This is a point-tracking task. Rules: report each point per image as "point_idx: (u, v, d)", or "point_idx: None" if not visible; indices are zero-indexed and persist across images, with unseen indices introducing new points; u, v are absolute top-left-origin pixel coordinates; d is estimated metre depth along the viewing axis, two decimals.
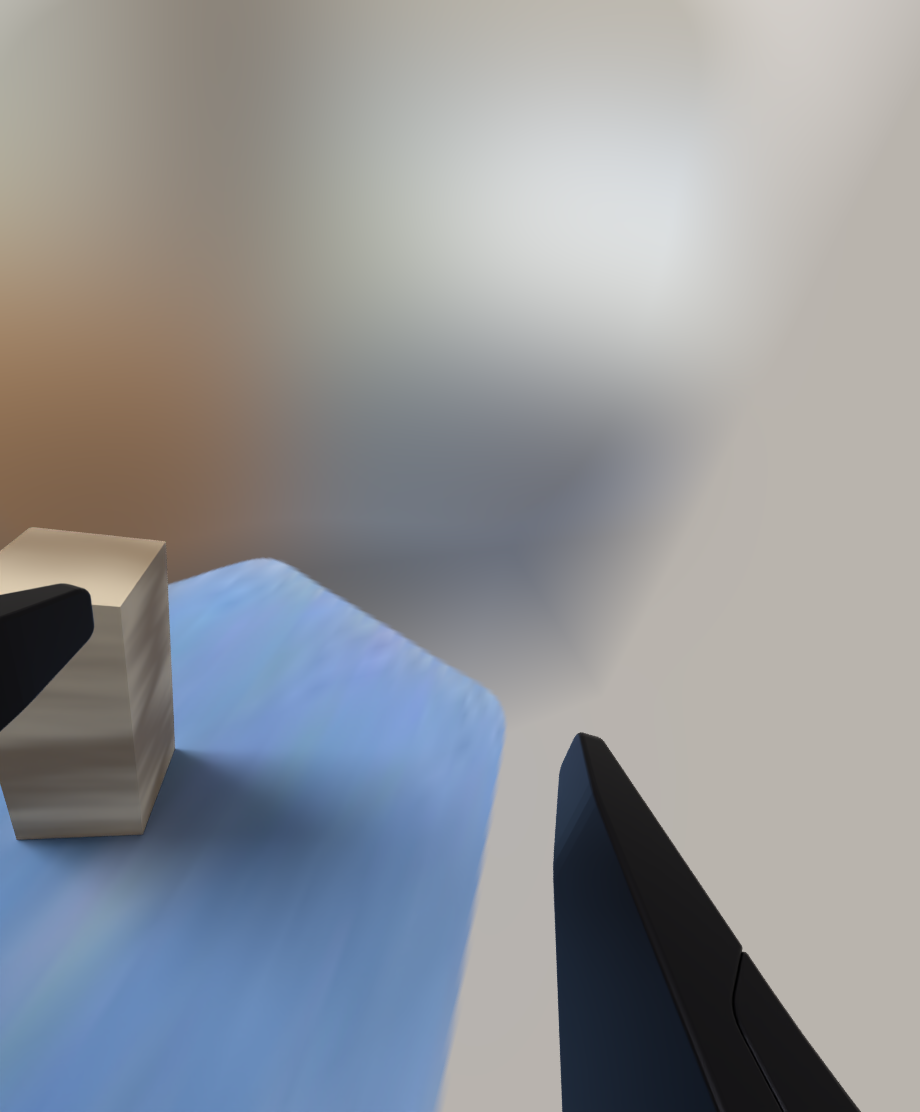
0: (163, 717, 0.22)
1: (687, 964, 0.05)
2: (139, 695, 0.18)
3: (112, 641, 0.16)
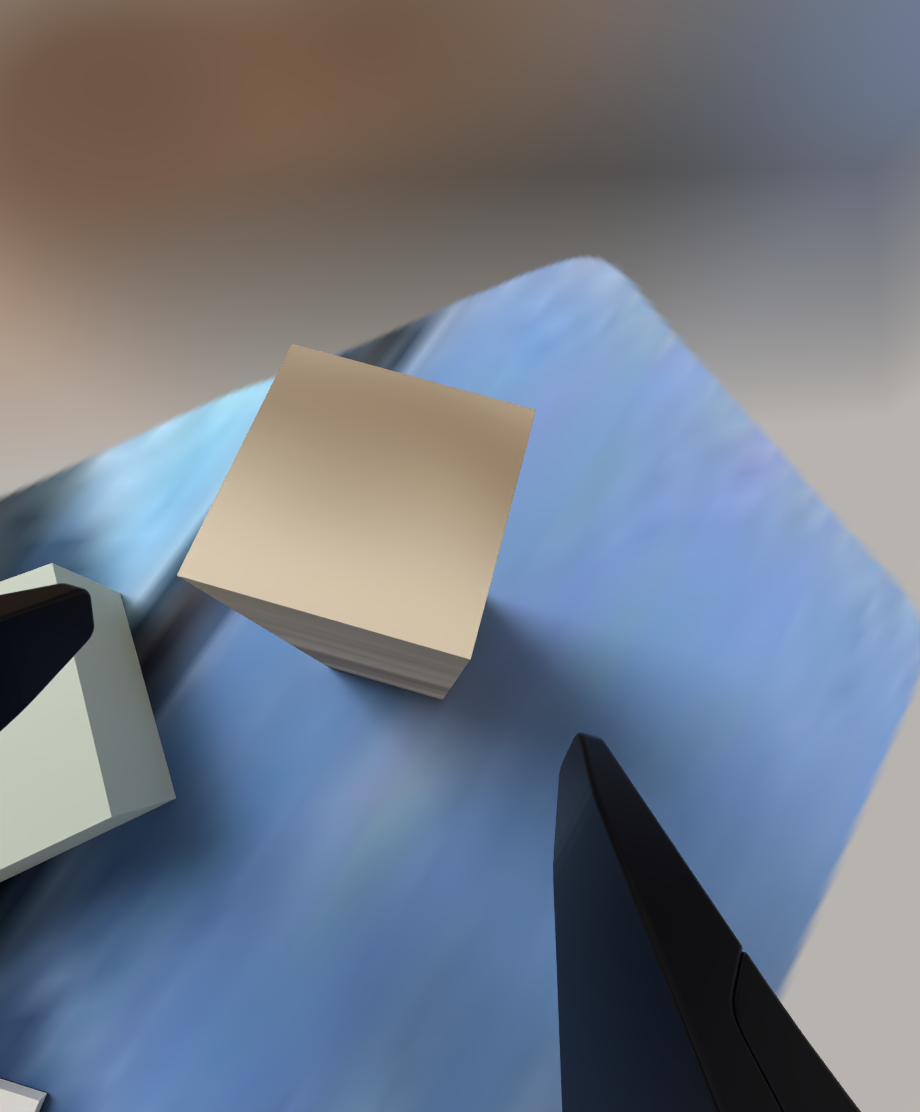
0: None
1: (687, 964, 0.05)
2: None
3: (444, 664, 0.08)
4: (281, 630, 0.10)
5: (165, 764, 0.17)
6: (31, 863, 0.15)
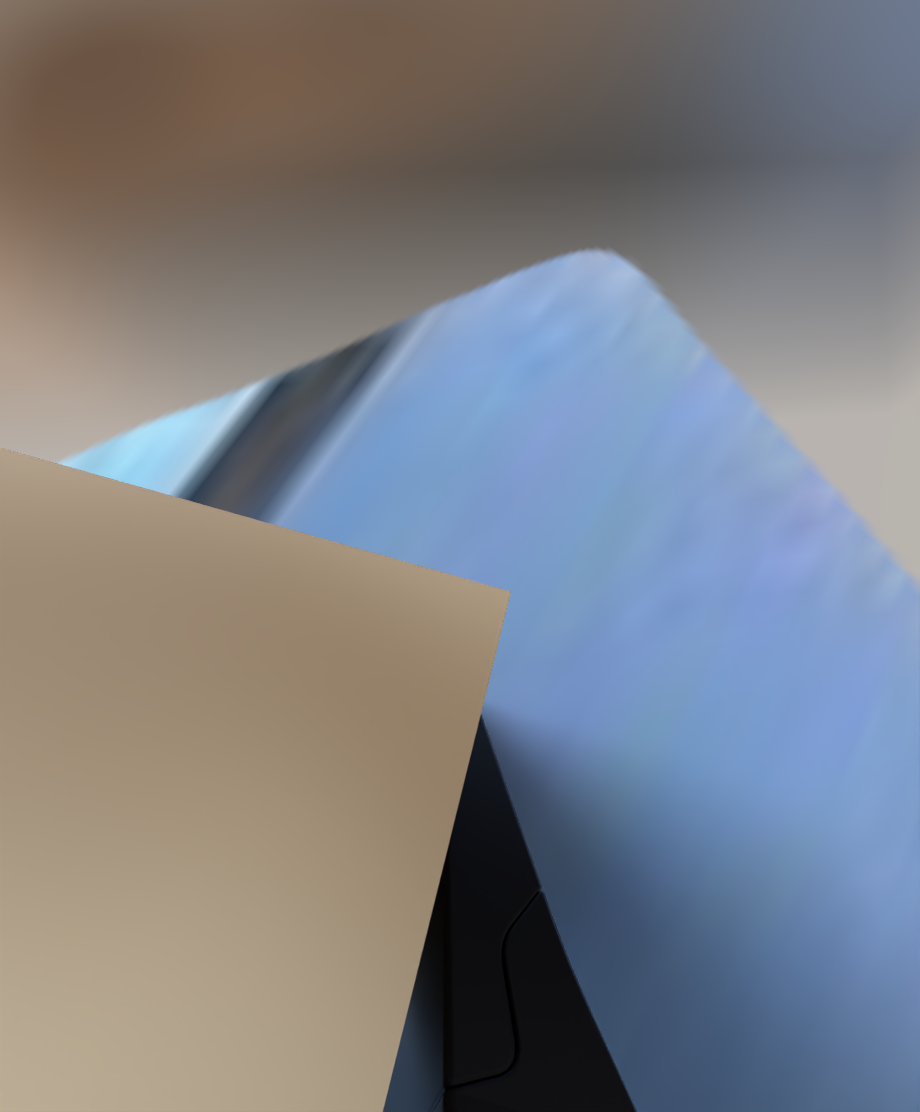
0: None
1: (472, 899, 0.05)
2: None
3: None
4: None
5: None
6: None
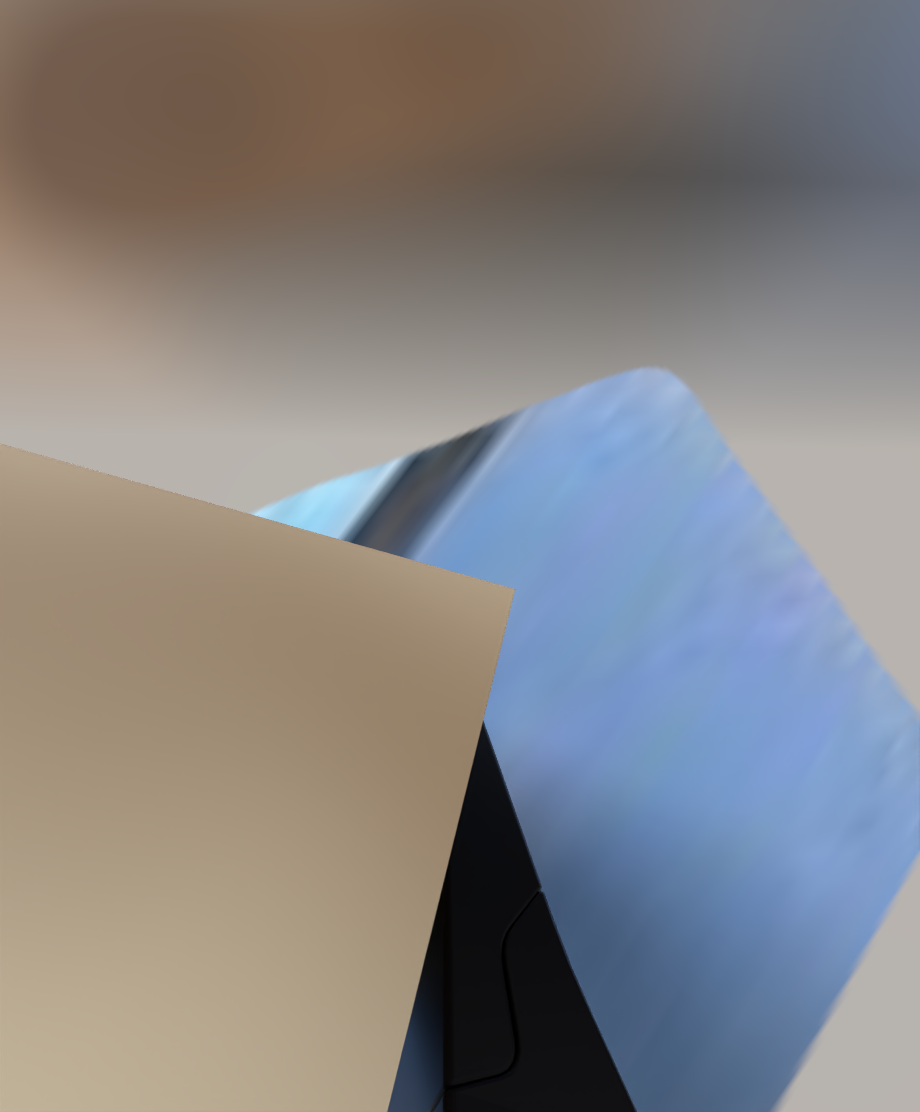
0: None
1: (472, 899, 0.05)
2: None
3: None
4: None
5: None
6: None
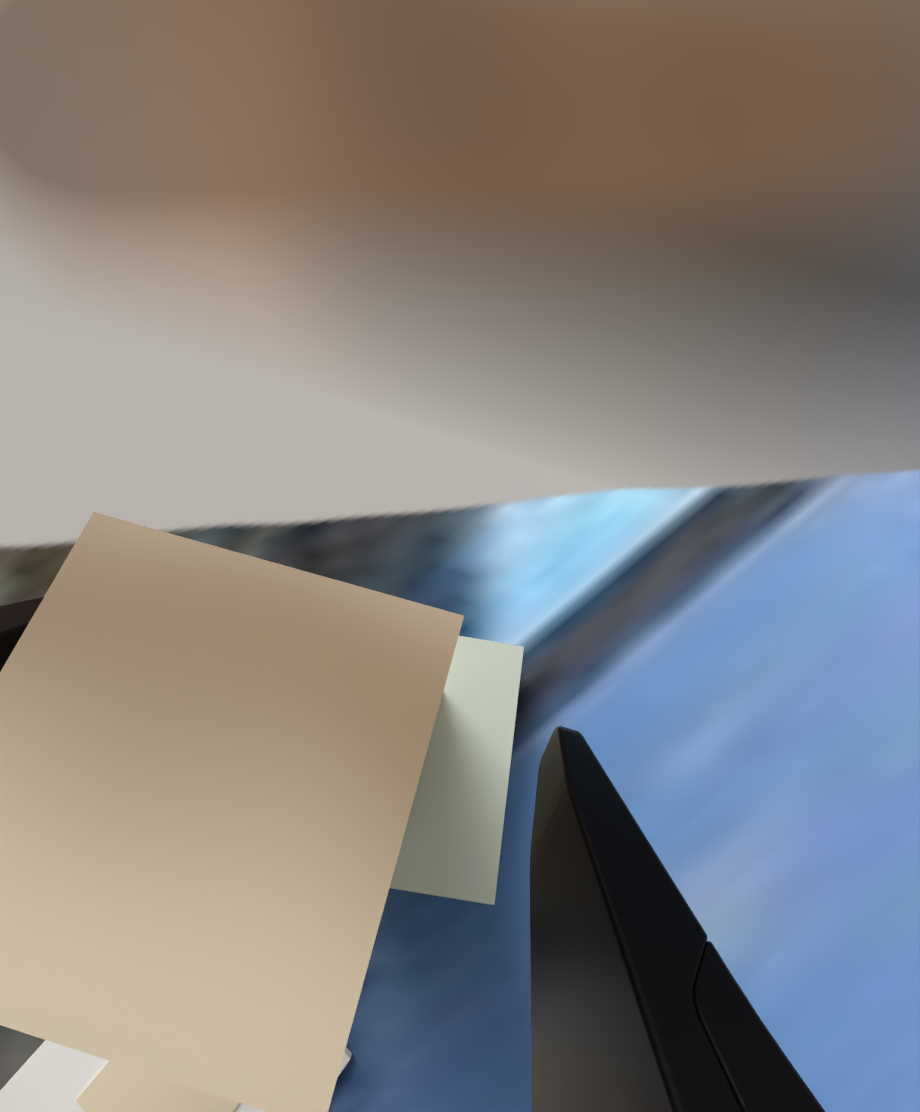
0: None
1: (650, 953, 0.05)
2: None
3: None
4: None
5: None
6: None
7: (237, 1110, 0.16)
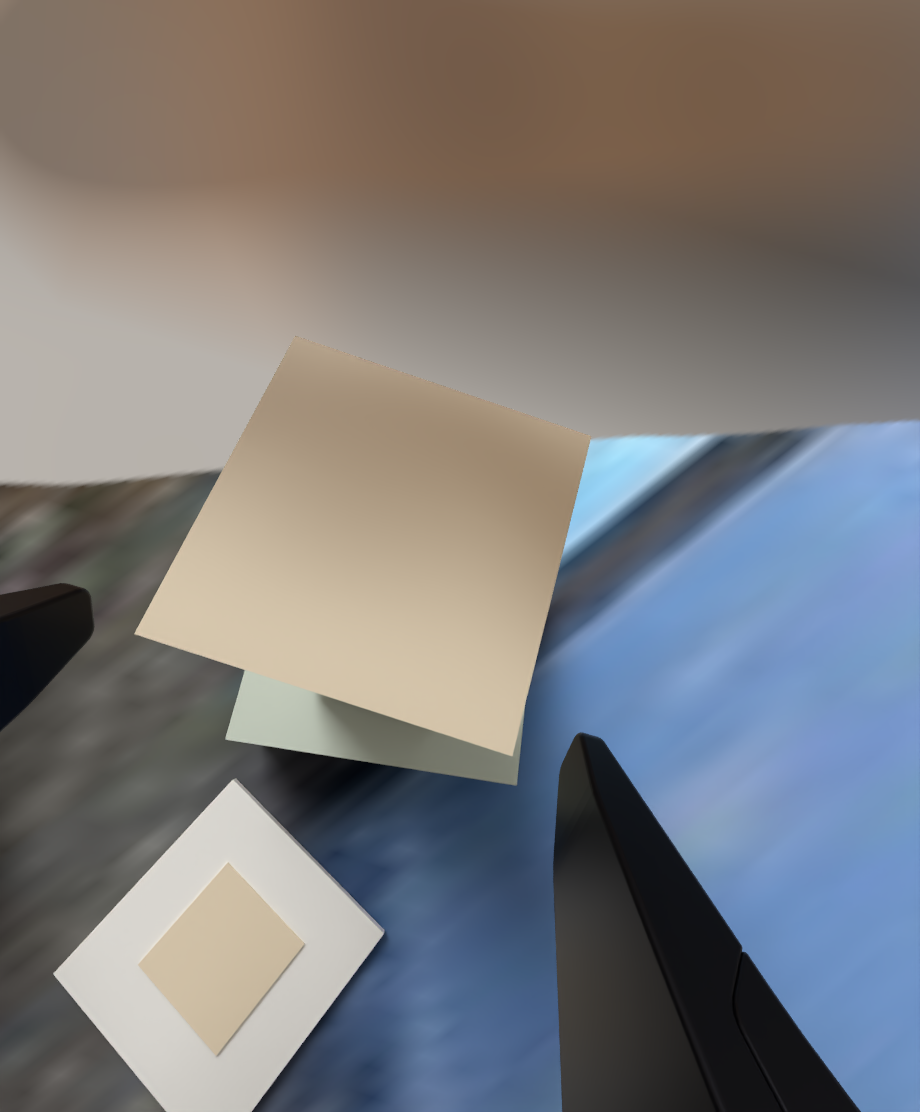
0: None
1: (687, 964, 0.05)
2: None
3: None
4: None
5: None
6: None
7: (282, 976, 0.17)
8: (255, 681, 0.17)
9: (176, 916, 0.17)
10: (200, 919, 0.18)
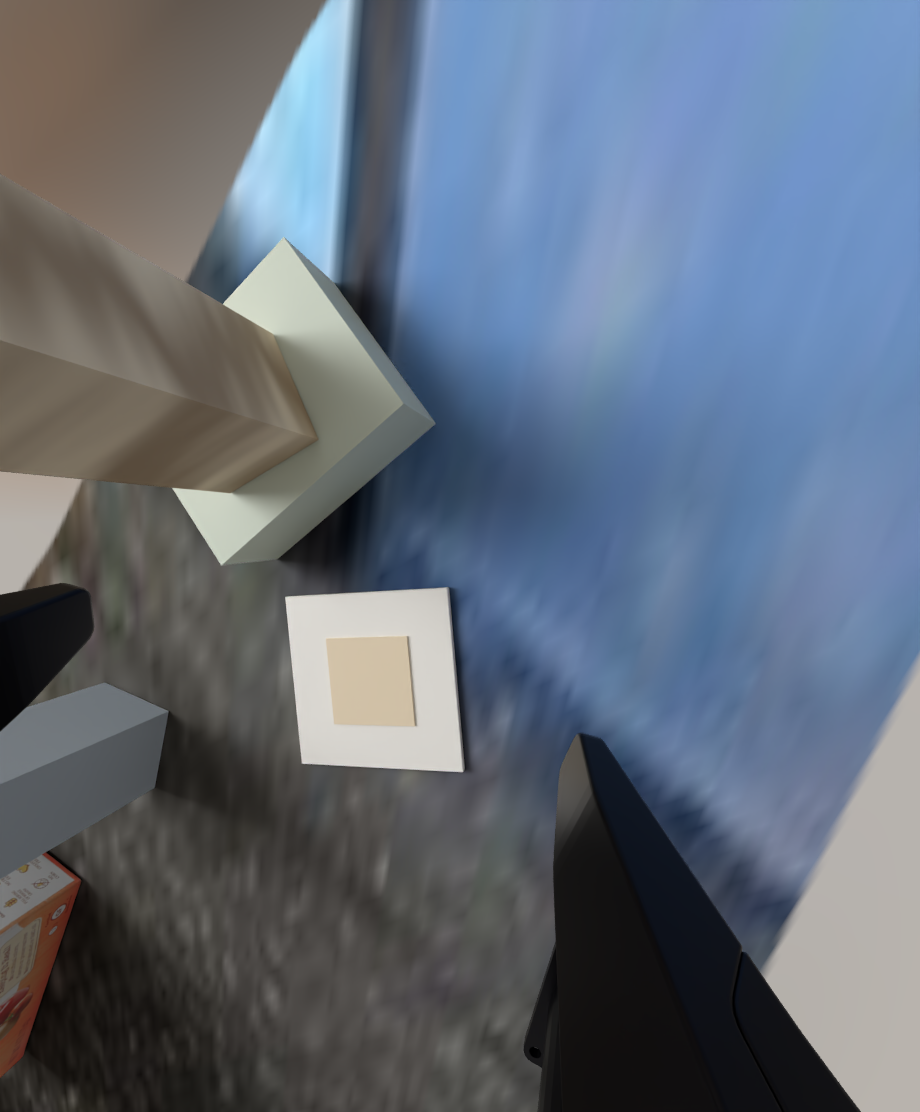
0: (212, 326, 0.15)
1: (687, 964, 0.05)
2: (127, 351, 0.11)
3: None
4: None
5: None
6: (360, 474, 0.20)
7: (412, 662, 0.21)
8: (203, 519, 0.20)
9: (329, 687, 0.23)
10: (342, 677, 0.22)
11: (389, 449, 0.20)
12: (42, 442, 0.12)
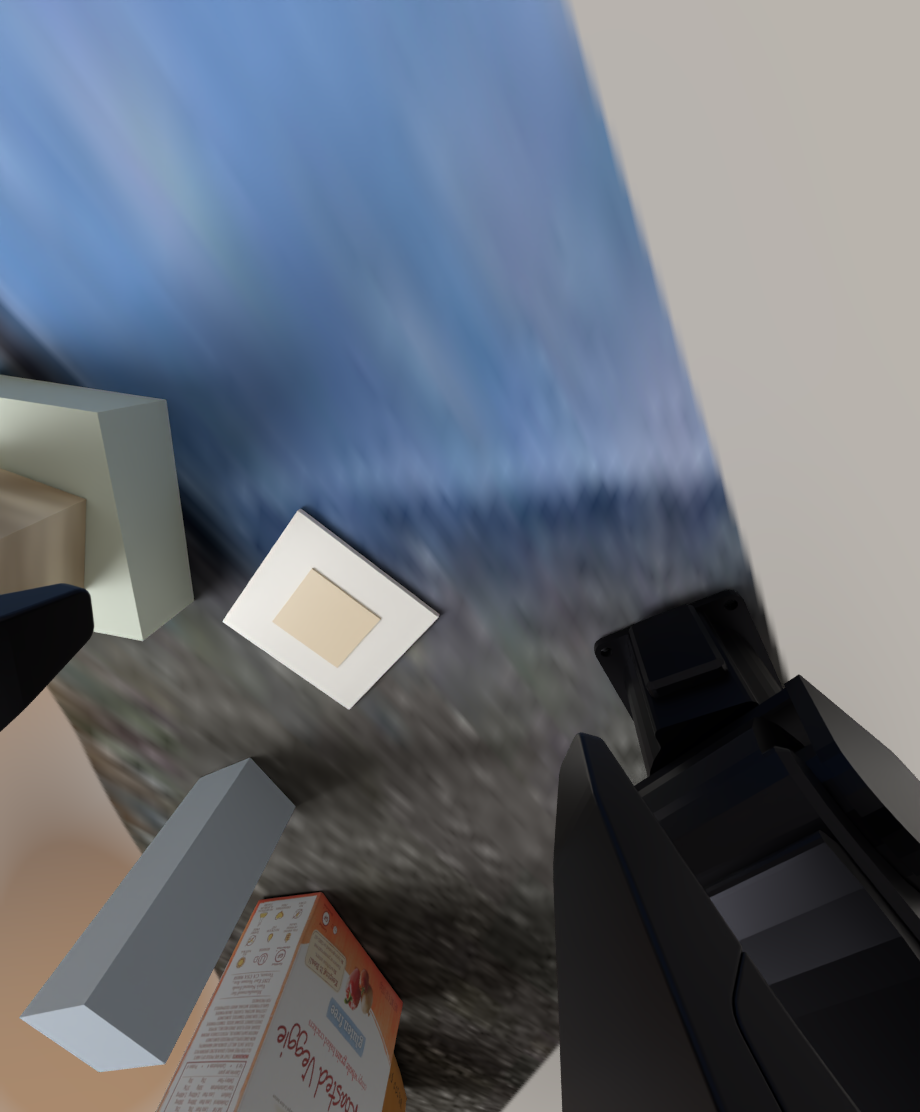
0: None
1: (687, 964, 0.05)
2: None
3: None
4: None
5: None
6: (157, 490, 0.21)
7: (333, 581, 0.23)
8: (99, 624, 0.22)
9: (309, 648, 0.25)
10: (309, 634, 0.24)
11: (152, 452, 0.20)
12: None
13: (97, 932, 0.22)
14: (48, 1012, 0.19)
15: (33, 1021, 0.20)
